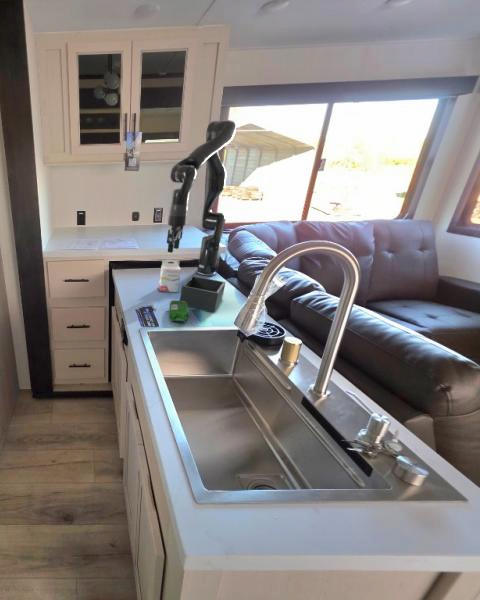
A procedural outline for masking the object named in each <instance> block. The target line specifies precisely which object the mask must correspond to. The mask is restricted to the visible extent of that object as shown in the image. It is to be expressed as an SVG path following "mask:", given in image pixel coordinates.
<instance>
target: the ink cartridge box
mask: <svg viewBox="0 0 480 600" xmlns="http://www.w3.org/2000/svg"><path fill="white" fill-rule="evenodd" d="M181 270H182V268H181V267H180V260H179V259H162V261H161V266H160V272H159V273H160V274H159V283H158V290H159V291H160V292H162V293H163V292H164V293H165V292H166V293H178V292H179V286H180V281H181V280H180V279H181V272H182V271H181Z"/></svg>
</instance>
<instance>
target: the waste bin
mask: <svg viewBox="0 0 480 600" xmlns="http://www.w3.org/2000/svg"><path fill="white" fill-rule="evenodd" d="M225 286H226V281H224V280H216V279H211V278H207V277H206V278H205V277H201V276H195V275H191V276H190V277H189V278H188V279H187V280H186V281H185V282H184V283H183V284H182V285H181V288H180V289H181V290H180V297H179V301H185V302H187V305H188V308H192V309H197V310H201V311H204V312H208V313H212V314H213V313H215V312H216V311H217V309H218V308H219V306H220V304H221V302H222V301H223V297H224V291H225Z"/></svg>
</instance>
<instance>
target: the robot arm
mask: <svg viewBox="0 0 480 600" xmlns="http://www.w3.org/2000/svg"><path fill="white" fill-rule="evenodd" d="M236 127H237V126H236V123H235V121H233V120H231V119H225V120H224V119H223V120H212V121H210V122H209V123H208V125H207V128H206V133H205V142H204V143H202V144H200V145H199V146H197V147H196V148H195V149H194V150H192V151H191V153H190V154H188V156H187V157H185V158H184V159H182V160H180V161H178V162H177V163H176V164H175V165H173V166H172V168H171V169H170V171H169V179H170V181H171V182H172V183H176V184H181V186H180V188H176V189H173V190H172V192H171V198H170V205H169V211H168V218H167V219H168V220H167V225H168V226H170V229H168V230H167V236H166V244H168V245H167V253H171V254H172V253H173V252H174V249H176V250H178V249H179V248H180V243H181V242H180V241H181V239H182V238H183V233H184V226H186V223H187V217H188V216H187V215H188V204H189V196H190V193H191V190H192V187H193V185H194V183H195V181H196V177H197V171H198V170H199V169H201V167H202V166H203V165H204V164H206V165H205V178H204V199H203V207H202V215H201V228H202V229H203V230H207V231H213V233H212V234H210V235H204V236H203V237H202V239H201V243H200V250H199V257H198V264H197V269H196V273H197V274H198V275H200V276H203V277H204V276H205V277H211V276H212V277H213V276H215V273H216V268H218V267H217V263H218V258H219V251H220V245H221V241H222V237H223V232H224V228H225V225H226V219H227V217H226V214H225V213H223V212H216V211H212V209H213V206H214V203H215V201H216V200H217V199H218V197H219V196H220V195H221V194H222V193H223V191H224V189H225V188H226V180H227V171H226V168H225V166H224V164H223V162H222V160H221V158H220V156H219V151H220V150H221V149H222V148H223V147H225V146H226V145H228V144H229V143H230V142H231V141H232V140H233V138H234V137H235V134H236Z"/></svg>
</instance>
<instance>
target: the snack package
mask: <svg viewBox="0 0 480 600" xmlns="http://www.w3.org/2000/svg"><path fill="white" fill-rule="evenodd" d="M168 313H169V314H168V317H169V320H170V321H172V322H188V321H189V307H188V305H187V302H185V301H180V300H171V301H170V303H169V311H168Z"/></svg>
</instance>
